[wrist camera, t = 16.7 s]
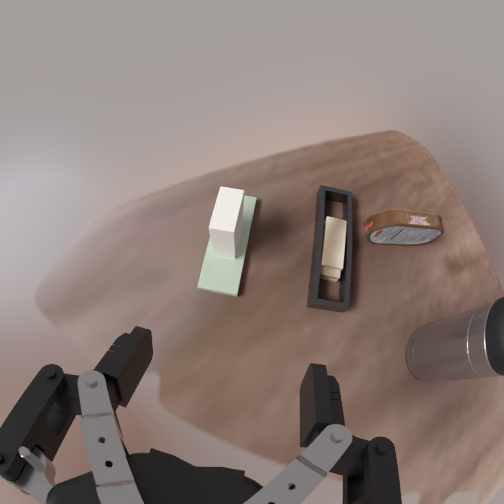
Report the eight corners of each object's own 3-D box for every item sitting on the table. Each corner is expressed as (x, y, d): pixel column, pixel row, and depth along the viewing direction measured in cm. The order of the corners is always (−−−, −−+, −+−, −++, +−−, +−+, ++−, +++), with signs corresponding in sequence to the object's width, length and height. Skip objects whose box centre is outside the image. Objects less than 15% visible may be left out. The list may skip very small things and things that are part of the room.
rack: (347, 200, 46) (351, 192, 44) (342, 312, 38) (348, 308, 36) (317, 193, 46) (320, 185, 44) (306, 307, 38) (311, 303, 36)
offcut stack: (340, 227, 44) (346, 218, 41) (335, 282, 40) (341, 276, 38) (322, 223, 44) (327, 213, 41) (315, 278, 40) (320, 272, 38)
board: (256, 201, 45) (256, 197, 44) (237, 296, 39) (237, 294, 38) (222, 195, 45) (222, 192, 44) (198, 289, 39) (197, 287, 38)
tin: (424, 233, 44) (449, 211, 37) (428, 249, 43) (454, 229, 35) (355, 229, 44) (376, 202, 36) (358, 246, 43) (380, 222, 35)
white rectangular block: (243, 222, 42) (244, 190, 34) (234, 259, 40) (233, 232, 32) (223, 219, 42) (220, 186, 34) (214, 255, 40) (208, 227, 32)
